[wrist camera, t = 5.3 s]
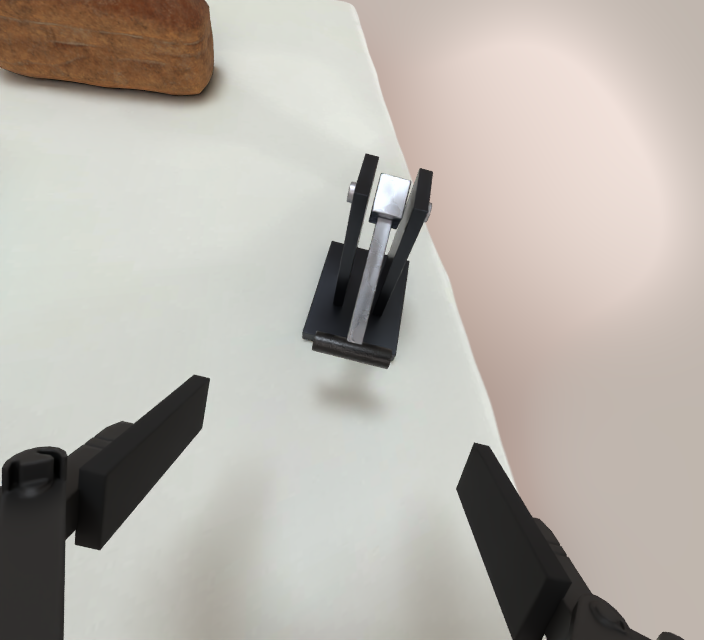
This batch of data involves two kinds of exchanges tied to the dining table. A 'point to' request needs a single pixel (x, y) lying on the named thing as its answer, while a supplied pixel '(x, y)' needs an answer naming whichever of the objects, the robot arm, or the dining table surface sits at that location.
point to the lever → (370, 278)
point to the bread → (110, 42)
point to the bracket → (349, 262)
